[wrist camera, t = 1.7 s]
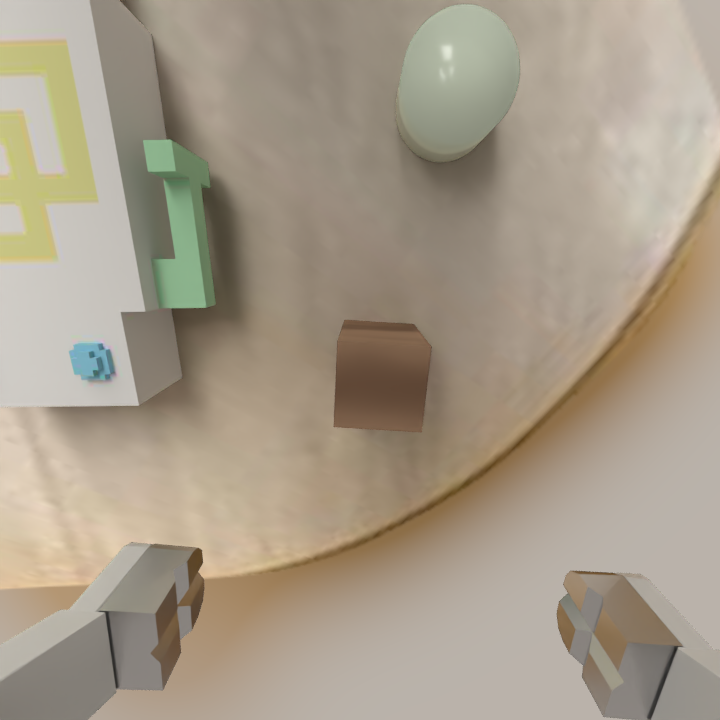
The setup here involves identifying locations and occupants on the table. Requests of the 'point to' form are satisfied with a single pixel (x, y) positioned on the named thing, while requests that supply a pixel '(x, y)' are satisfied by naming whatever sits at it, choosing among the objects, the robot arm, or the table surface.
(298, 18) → the table surface
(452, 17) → the sage rounded block
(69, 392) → the decorative block
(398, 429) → the walnut block
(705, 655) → the robot arm
